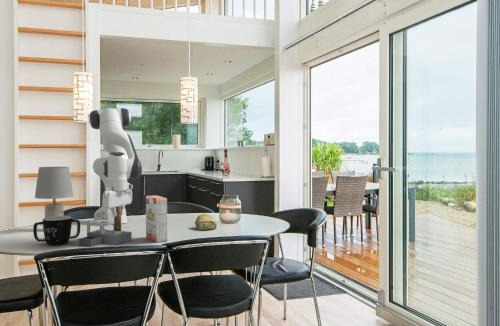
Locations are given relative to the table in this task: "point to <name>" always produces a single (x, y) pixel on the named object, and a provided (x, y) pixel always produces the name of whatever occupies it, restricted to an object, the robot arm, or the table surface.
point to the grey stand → (108, 233)
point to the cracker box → (156, 218)
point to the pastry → (205, 222)
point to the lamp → (53, 188)
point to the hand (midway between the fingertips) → (117, 215)
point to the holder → (90, 241)
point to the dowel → (117, 219)
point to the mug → (56, 230)
